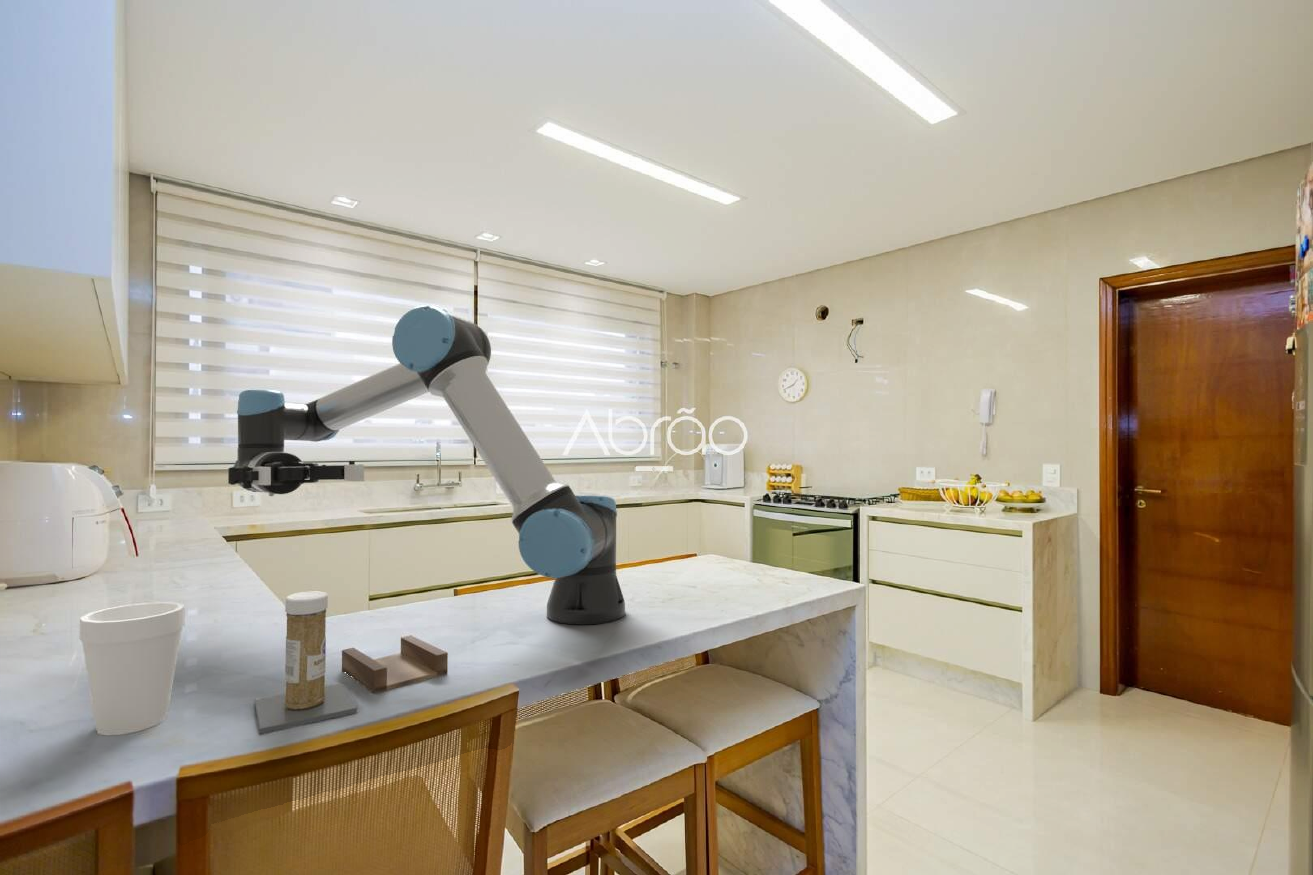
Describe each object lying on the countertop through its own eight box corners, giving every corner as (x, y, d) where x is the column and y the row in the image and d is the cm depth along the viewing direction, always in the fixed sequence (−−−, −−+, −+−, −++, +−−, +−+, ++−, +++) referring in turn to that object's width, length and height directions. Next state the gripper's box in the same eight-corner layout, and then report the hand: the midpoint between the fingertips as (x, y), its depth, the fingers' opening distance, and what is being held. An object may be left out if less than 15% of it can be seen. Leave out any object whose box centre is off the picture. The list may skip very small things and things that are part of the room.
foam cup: (70, 749, 67) (73, 627, 67) (83, 719, 74) (86, 609, 75) (182, 726, 73) (184, 613, 73) (184, 700, 80) (185, 598, 80)
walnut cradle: (410, 654, 98) (411, 635, 98) (447, 673, 90) (447, 652, 90) (341, 670, 91) (341, 650, 91) (374, 693, 82) (374, 670, 82)
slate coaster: (342, 687, 85) (342, 682, 85) (356, 712, 76) (356, 707, 76) (254, 704, 79) (255, 699, 79) (260, 733, 71) (260, 728, 71)
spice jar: (327, 705, 77) (329, 596, 77) (284, 714, 74) (286, 601, 74) (323, 692, 81) (325, 588, 81) (282, 699, 78) (284, 592, 78)
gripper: (348, 489, 122) (395, 493, 108) (191, 497, 104) (222, 503, 90) (348, 451, 123) (395, 450, 108) (191, 452, 105) (222, 451, 90)
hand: (317, 474), depth 99 cm, fingers open, 13 cm apart
